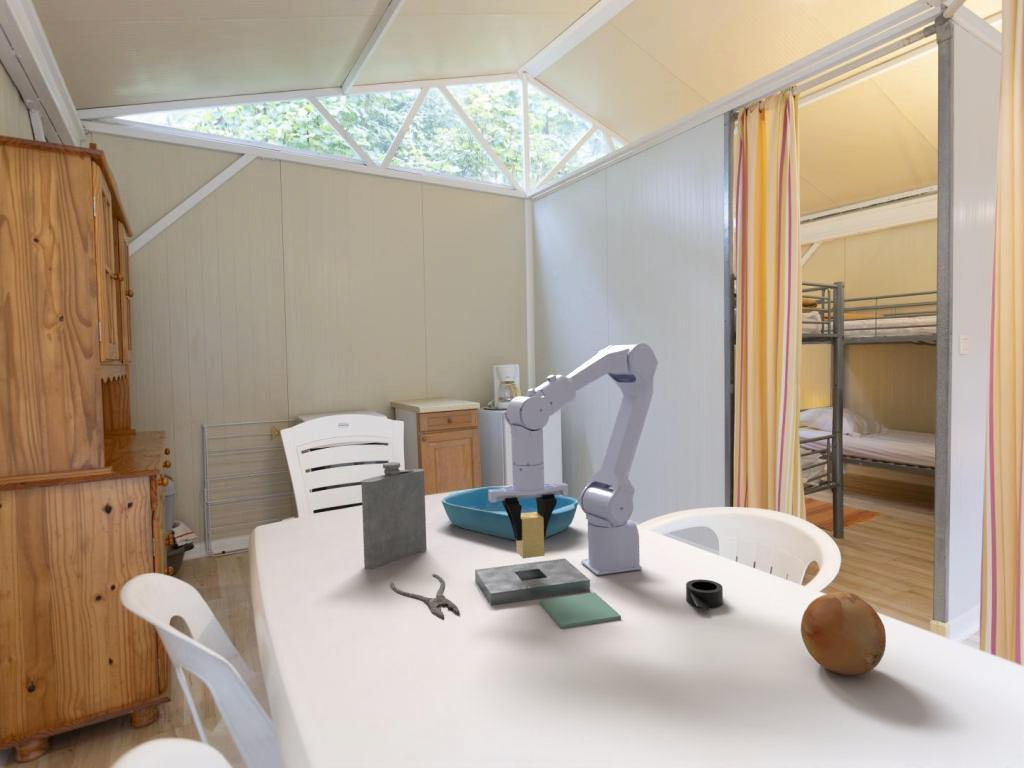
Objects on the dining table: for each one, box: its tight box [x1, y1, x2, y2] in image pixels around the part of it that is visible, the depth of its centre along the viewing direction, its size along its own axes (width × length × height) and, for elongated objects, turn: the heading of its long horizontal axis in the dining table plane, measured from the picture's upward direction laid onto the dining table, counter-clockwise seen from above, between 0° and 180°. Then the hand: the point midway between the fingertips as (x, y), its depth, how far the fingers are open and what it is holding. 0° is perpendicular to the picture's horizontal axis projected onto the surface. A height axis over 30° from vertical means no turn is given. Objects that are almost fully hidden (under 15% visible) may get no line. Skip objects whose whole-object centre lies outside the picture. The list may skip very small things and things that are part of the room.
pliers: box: [390, 573, 461, 620], centre depth 106 cm, size 10×1×20 cm
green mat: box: [539, 592, 622, 629], centre depth 97 cm, size 10×10×1 cm
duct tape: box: [685, 578, 724, 611], centre depth 100 cm, size 8×10×3 cm
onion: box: [800, 591, 887, 676], centre depth 77 cm, size 10×10×10 cm
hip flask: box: [360, 461, 427, 570], centre depth 126 cm, size 16×4×20 cm, turn 141°
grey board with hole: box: [474, 558, 591, 606], centre depth 109 cm, size 18×12×2 cm, turn 106°
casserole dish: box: [440, 485, 579, 541], centre depth 148 cm, size 37×22×7 cm, turn 48°
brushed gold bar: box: [515, 512, 545, 559], centre depth 108 cm, size 4×4×7 cm
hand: (529, 537), depth 108 cm, fingers closed on brushed gold bar, 4 cm apart
